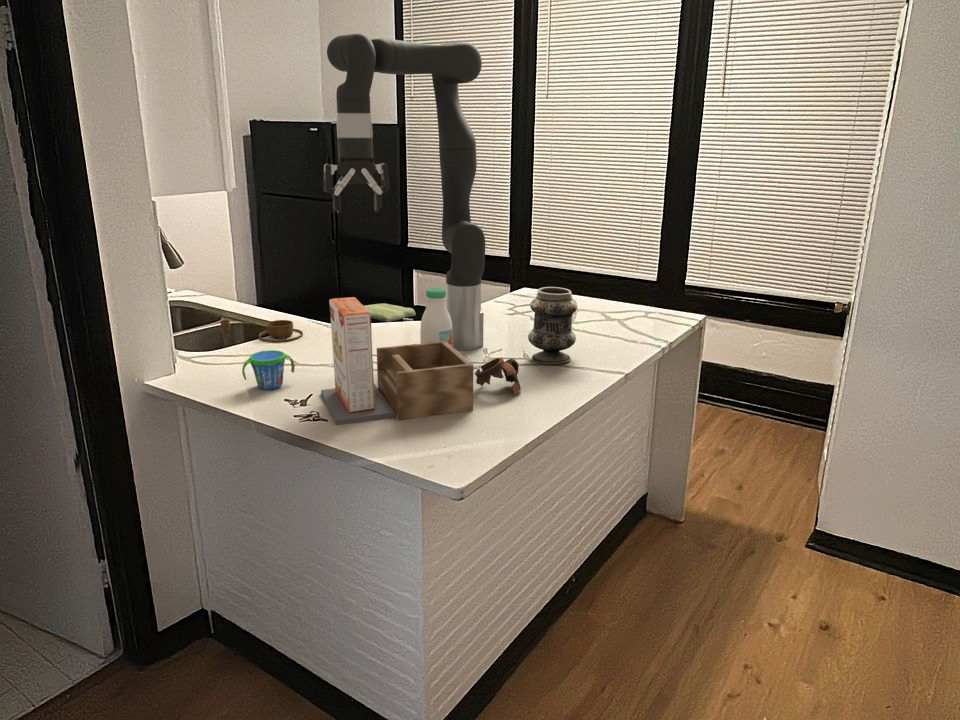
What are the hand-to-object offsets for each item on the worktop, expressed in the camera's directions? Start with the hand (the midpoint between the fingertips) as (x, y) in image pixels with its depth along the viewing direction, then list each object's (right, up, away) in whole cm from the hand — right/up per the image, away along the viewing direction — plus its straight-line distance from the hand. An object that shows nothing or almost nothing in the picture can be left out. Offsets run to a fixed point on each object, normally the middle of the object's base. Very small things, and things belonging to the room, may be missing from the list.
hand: (358, 212), depth 160 cm
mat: (+1, -42, -7) cm, 43 cm away
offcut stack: (+11, -42, -5) cm, 44 cm away
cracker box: (0, -42, -7) cm, 42 cm away
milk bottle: (+17, -35, +15) cm, 42 cm away
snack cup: (-21, -39, +4) cm, 44 cm away
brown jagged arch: (+34, -40, +3) cm, 53 cm away
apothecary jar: (+45, -33, +25) cm, 61 cm away
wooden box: (+15, -41, -4) cm, 44 cm away
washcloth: (-3, -20, +64) cm, 67 cm away
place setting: (-32, -27, +41) cm, 59 cm away
